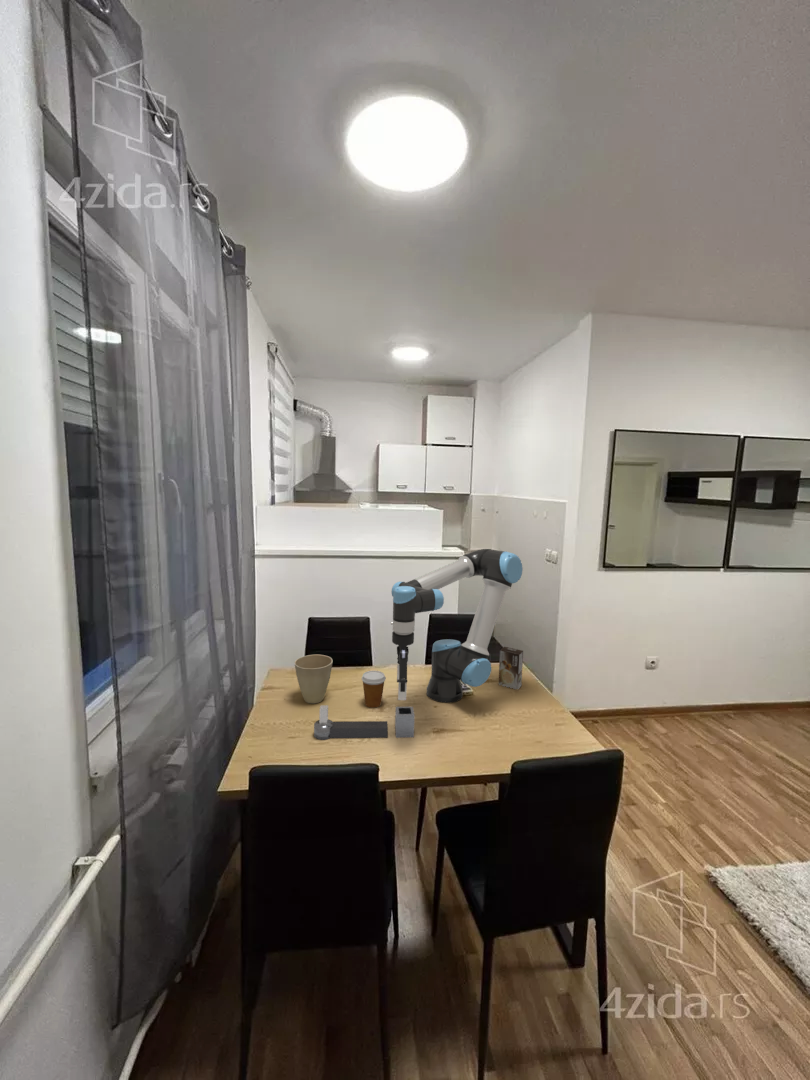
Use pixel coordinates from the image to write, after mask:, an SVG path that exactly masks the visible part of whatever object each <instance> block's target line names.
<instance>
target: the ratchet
mask: <svg viewBox="0 0 810 1080" xmlns="http://www.w3.org/2000/svg"><path fill="white" fill-rule="evenodd" d="M388 725H389V723H388V720H385V721H383V720H378V721H377V720H373V721H369V720H368V721H367V720H366V721H363V720H362V721H360V720H358V721H356V720H355V721H353V720H352V721H341V720H340V721H333V720H331V719H329V704H328V705H327V704H326V705H325V704H324V705H322V704H321V705H320V706H319V719H318V720H316V721H315V722H314V725H313V727H314V728H313V731H314V732H313V733H314V734H313V737H314V738H315V739H316V740H319V741H326V740H329V739H388V737H389V736H388V731H389V727H388Z"/></svg>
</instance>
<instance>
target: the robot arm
mask: <svg viewBox="0 0 810 1080" xmlns="http://www.w3.org/2000/svg"><path fill="white" fill-rule="evenodd" d="M523 569H524V567H523V563H522V560H521V558H520V557H519V556H518V555H517V554H516V553H513V552H510V551H503V550H496V549H491V548H482V549H477V550H474V551H471V552H468V553H466V554H464V555H461V556H459V557H458V560H455V561H453V562H451V563H448V564H447V565H444V566H442V567H439V568H438V569H435V570H433V571H430V572H428V573H425V574H423V575H421V576H419V577H417V578H414V579H412V580H408V581H407V582H405V581H397V582H395V583H394V584H393V586H392V587H391V596H392V604H393V605H392V621H391V622H390V625H392V633H391V635H392V636H391V642H392V643H393V644H394V645H396V654H397V658H396V659H397V666H396V667H397V669H396V670H397V671H396V683H398V687H397V688H398V690H397V701H406V700H407V689H408V688H407V687H408V685H407V684H408V662H409V650H410V649H409V646H410V645H413V644H414V642H415V633H414V632H415V621H416V620H415V617H416V614H421V613H426V612H434V611H437V610H440V609H441V608H442V607H443V606H444V603H445V601H444V600H445V597H444V594H443V592H442V591H441V590H440V589H442V588H444V587H447V586H449V585H451V584H454V583H455V582H457V581H460V580H462V579H464V578H469V579H470V578H472V577H474V576H475V577H476V576H480V577H482V580H483V581H482V582H483V583H484V587H483V589H482V592H481V595H480V598H479V601H478V604H477V607H476V611H475V612H474V617H473V620H472V623H471V626H470V628H469V631H468V632H469V633H468V635H467V638H466V641H464V642H463V643H462V642H461V641H460V640H457V639H452V638H451V639H450V638H449V639H447V638H446V639H440V640H436V641H435V642H434V643H433V644H432V650H431V676H430V678H429V680H428V684H427V686H426V696H427V697H428V698H429V699H431V700H432V701H435V702H439V703H447V704H448V703H455V702H458V701H460V700H461V699H462V698H463V692H464V690H463V688H462V684H465V685H468V686H469V687H473V688H475V687H477V688H478V687H480V686H482V685H483V684H484V683H486V682H487V681H488V680H489V677H490V675H491V673H492V663H491V662H490V660H489V658H490V653H489V651H488V647H489V646H490V645H489V644H490V641H491V638H492V635H493V632H494V629H495V627H496V623H497V619H498V617H499V613H500V610H501V606H502V604H503V600H504V598H505V594H506V592H507V591H508V590H510V589H511V588H512V586H513V584H516V583H517V582H518V581H520V580H521V578H522V575H523V571H524V570H523ZM461 682H462V683H461Z"/></svg>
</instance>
